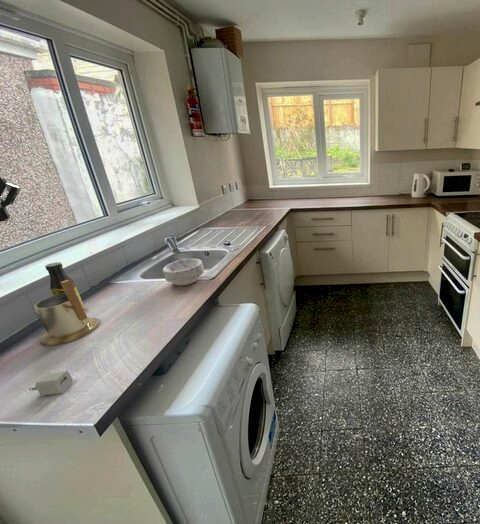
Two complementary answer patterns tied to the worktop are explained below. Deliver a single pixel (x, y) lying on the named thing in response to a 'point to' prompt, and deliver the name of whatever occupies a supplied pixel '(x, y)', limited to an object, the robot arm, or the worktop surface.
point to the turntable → (50, 341)
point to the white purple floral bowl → (183, 271)
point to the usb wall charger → (53, 383)
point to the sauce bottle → (59, 279)
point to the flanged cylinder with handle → (62, 313)
